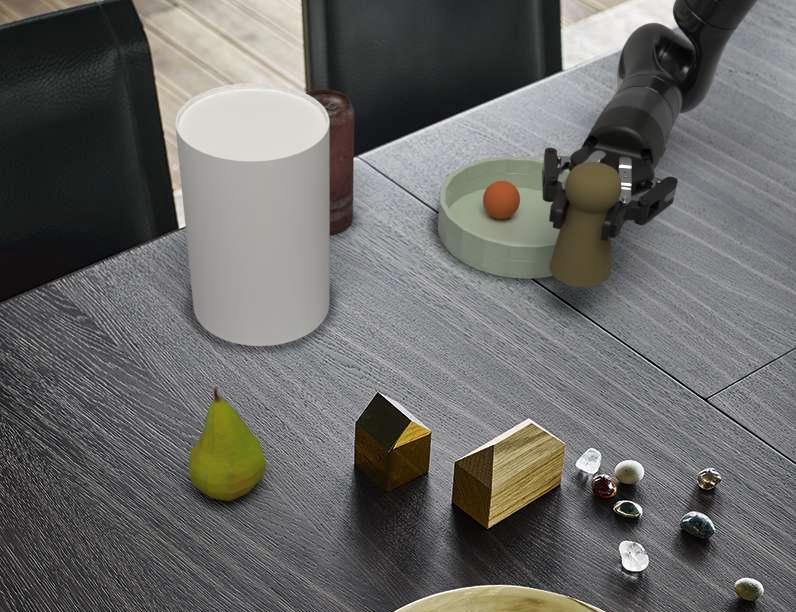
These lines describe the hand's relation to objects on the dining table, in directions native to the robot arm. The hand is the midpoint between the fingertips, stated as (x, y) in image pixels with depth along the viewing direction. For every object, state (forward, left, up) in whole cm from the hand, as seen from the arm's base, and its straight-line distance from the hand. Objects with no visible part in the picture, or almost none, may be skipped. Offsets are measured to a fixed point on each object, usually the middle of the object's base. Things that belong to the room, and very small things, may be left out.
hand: (581, 226), depth 117 cm
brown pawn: (-1, -3, -7) cm, 7 cm away
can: (+25, -16, -12) cm, 32 cm away
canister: (+30, -1, -12) cm, 32 cm away
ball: (+6, -18, -9) cm, 21 cm away
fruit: (+30, +25, -12) cm, 41 cm away
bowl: (+4, -16, -11) cm, 20 cm away
